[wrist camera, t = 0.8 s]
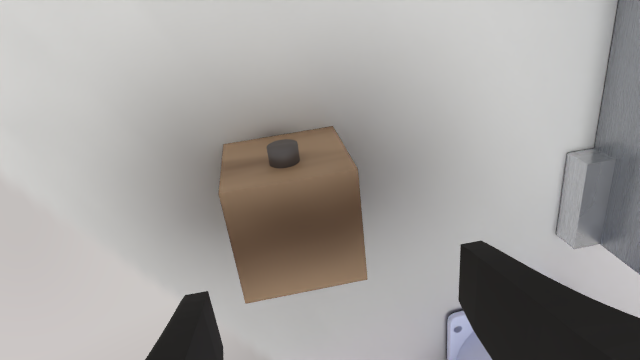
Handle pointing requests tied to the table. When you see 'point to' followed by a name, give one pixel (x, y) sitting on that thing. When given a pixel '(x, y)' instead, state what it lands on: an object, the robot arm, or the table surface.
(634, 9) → the grey metal bar
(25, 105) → the table surface
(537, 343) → the robot arm
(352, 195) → the cabinet
